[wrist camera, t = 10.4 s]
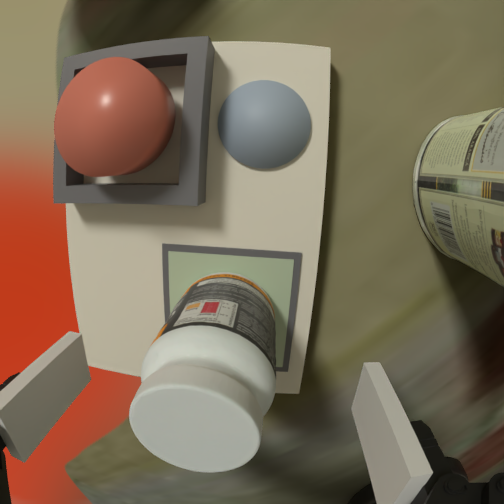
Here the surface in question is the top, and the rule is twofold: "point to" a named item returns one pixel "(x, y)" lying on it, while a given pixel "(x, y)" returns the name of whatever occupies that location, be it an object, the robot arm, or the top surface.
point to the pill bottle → (209, 376)
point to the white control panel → (205, 197)
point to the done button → (113, 118)
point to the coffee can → (464, 190)
